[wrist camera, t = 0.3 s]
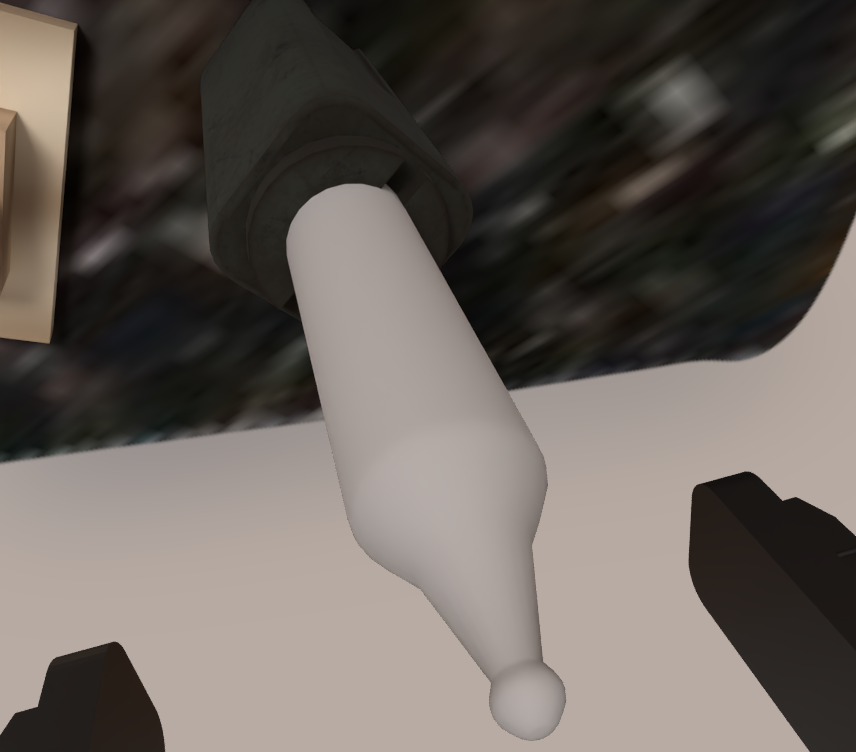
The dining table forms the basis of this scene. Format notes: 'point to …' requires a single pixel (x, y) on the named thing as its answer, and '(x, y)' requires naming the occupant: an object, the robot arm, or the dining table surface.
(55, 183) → the shaft bench
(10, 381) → the dining table surface
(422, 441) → the black and grey bottle
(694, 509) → the robot arm
